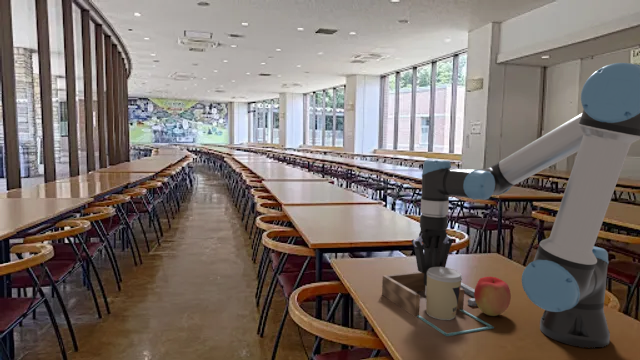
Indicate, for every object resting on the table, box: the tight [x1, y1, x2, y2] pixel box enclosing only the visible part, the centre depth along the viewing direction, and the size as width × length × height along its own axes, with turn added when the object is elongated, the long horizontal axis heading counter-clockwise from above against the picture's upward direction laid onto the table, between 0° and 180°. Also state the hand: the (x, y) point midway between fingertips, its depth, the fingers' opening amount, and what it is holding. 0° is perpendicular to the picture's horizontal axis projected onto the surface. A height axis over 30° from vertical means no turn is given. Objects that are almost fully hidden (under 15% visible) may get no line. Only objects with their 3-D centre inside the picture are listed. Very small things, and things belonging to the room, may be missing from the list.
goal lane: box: [416, 308, 495, 337], centre depth 117 cm, size 12×15×1 cm
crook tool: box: [460, 281, 478, 307], centre depth 138 cm, size 18×7×2 cm, turn 16°
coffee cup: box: [425, 266, 463, 321], centre depth 121 cm, size 9×9×12 cm
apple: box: [474, 276, 512, 317], centre depth 122 cm, size 10×10×10 cm
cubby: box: [381, 271, 465, 318], centre depth 131 cm, size 18×16×6 cm
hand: (429, 296), depth 127 cm, fingers closed
